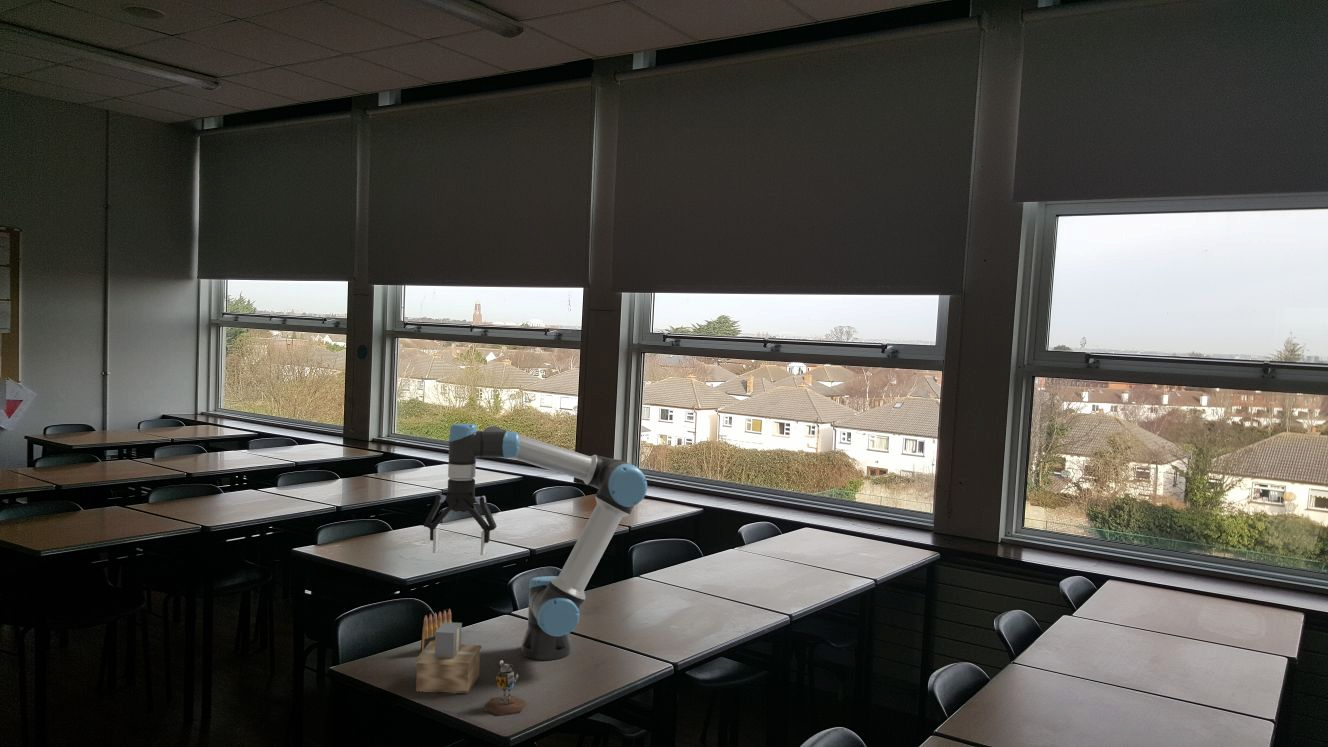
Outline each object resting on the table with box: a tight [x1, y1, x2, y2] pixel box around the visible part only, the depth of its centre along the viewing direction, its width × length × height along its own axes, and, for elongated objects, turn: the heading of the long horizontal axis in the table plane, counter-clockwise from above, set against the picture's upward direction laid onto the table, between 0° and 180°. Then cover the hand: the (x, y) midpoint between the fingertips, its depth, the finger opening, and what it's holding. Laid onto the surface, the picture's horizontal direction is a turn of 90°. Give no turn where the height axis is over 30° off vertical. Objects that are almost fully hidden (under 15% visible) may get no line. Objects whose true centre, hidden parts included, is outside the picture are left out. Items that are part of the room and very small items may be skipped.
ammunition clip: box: [420, 608, 452, 653], centre depth 260 cm, size 11×2×12 cm, turn 143°
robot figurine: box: [484, 660, 527, 717], centre depth 221 cm, size 11×9×12 cm
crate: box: [415, 650, 481, 694], centre depth 235 cm, size 14×12×8 cm
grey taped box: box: [435, 621, 463, 658], centre depth 234 cm, size 5×8×7 cm, turn 178°
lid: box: [414, 643, 482, 666], centre depth 234 cm, size 15×13×1 cm
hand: (459, 553), depth 241 cm, fingers open, 13 cm apart
